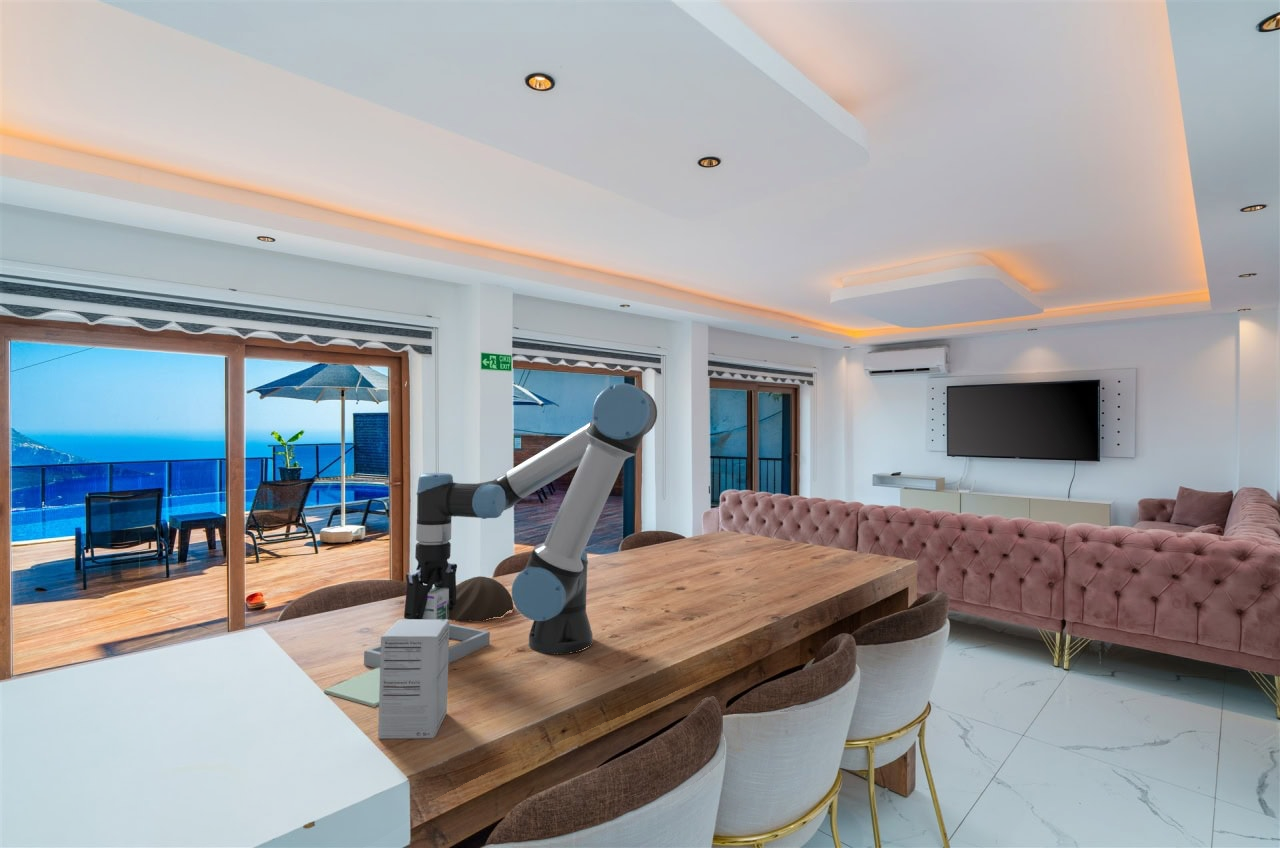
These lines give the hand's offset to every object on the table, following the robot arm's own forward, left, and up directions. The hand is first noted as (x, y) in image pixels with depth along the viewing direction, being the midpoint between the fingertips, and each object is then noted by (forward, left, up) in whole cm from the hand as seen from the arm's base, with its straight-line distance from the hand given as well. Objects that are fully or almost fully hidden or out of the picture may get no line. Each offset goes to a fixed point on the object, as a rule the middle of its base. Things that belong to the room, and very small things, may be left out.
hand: (430, 644), depth 139 cm
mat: (-4, +19, -2) cm, 19 cm away
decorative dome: (+12, -31, -3) cm, 34 cm away
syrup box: (0, 0, -2) cm, 2 cm away
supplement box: (-22, +27, -2) cm, 35 cm away
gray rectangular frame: (0, 0, -2) cm, 2 cm away
